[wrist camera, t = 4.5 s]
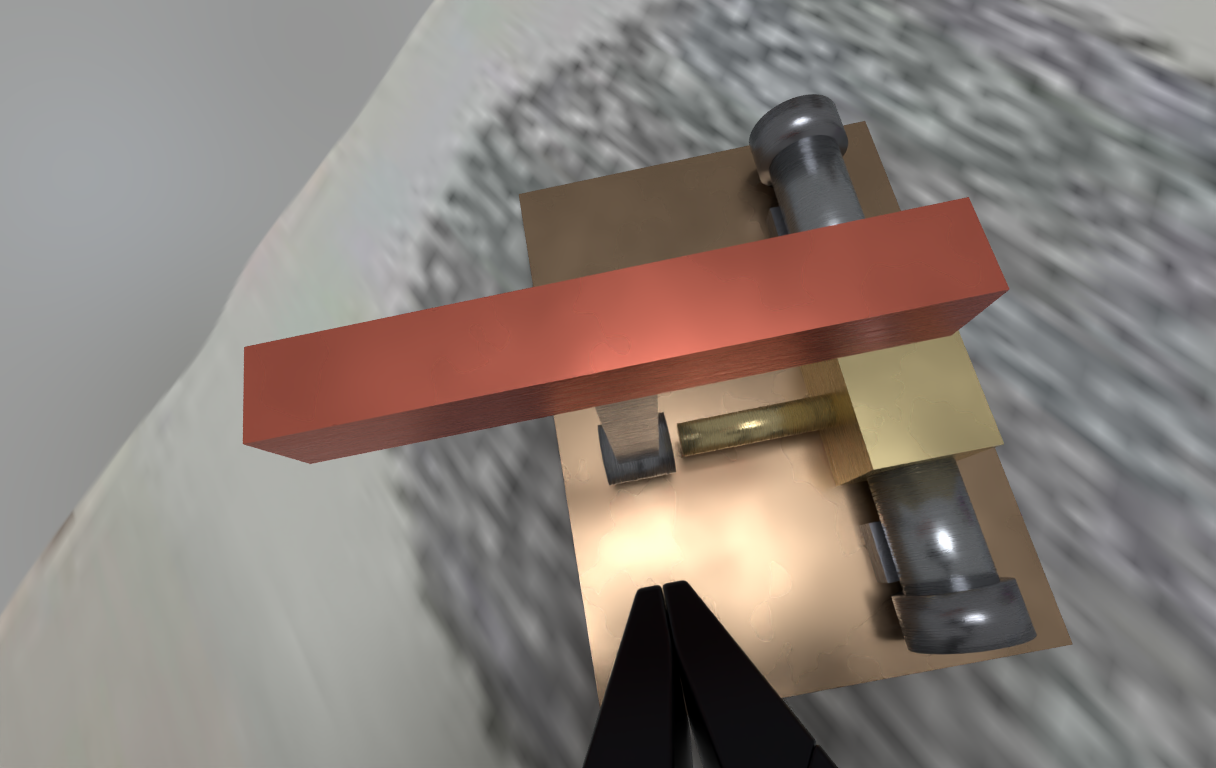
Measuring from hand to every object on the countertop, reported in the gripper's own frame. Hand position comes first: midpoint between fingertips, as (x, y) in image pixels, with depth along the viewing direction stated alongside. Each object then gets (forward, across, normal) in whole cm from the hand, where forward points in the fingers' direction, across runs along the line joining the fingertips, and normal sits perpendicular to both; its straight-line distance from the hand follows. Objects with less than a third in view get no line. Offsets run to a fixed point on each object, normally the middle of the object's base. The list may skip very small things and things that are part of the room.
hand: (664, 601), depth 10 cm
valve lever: (+11, 0, +5) cm, 12 cm away
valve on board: (+14, -5, +5) cm, 16 cm away
